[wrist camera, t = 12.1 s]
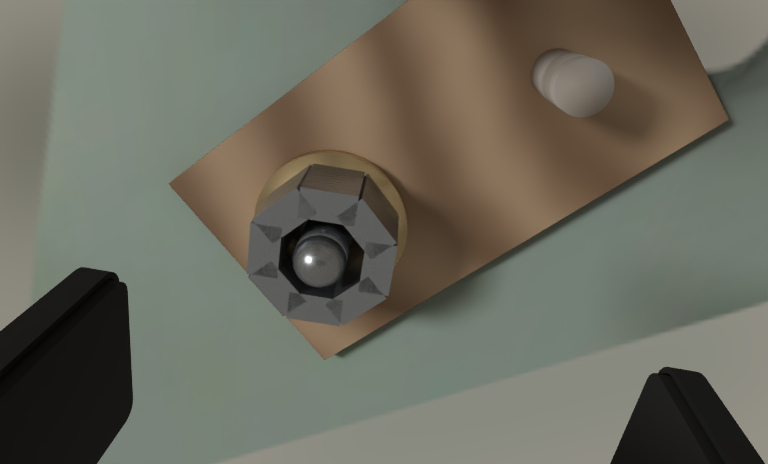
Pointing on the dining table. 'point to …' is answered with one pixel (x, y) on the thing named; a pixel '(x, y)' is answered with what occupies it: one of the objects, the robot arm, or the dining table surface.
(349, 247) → the hub
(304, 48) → the dining table surface
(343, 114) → the board
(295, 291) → the ring
